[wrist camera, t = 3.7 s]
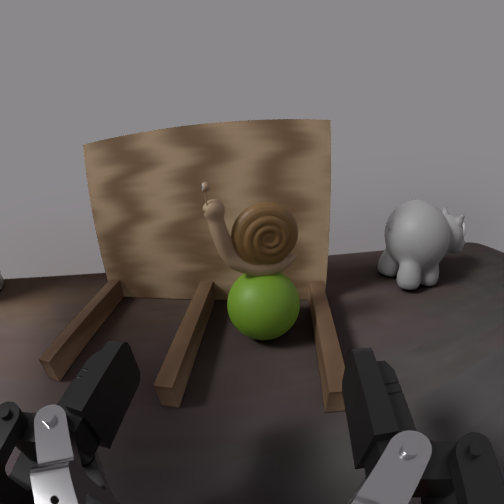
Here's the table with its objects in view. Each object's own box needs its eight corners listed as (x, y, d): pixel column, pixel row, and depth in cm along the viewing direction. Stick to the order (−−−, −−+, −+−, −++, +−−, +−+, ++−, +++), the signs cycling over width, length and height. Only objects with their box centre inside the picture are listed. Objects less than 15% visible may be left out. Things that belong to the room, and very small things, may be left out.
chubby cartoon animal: (476, 281, 27) (492, 209, 23) (401, 300, 25) (416, 211, 22) (441, 257, 33) (450, 193, 30) (367, 268, 32) (374, 193, 29)
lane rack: (46, 377, 17) (-26, 169, 10) (118, 288, 30) (91, 143, 24) (350, 410, 15) (394, 106, 9) (322, 290, 28) (326, 120, 22)
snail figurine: (215, 319, 25) (200, 177, 20) (288, 309, 26) (288, 171, 21) (221, 361, 20) (200, 190, 15) (307, 347, 21) (315, 182, 16)
